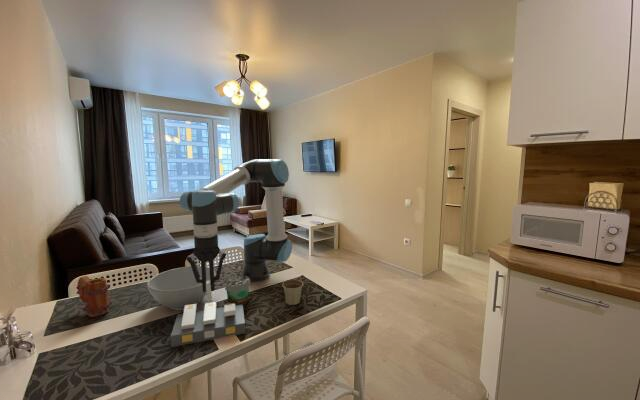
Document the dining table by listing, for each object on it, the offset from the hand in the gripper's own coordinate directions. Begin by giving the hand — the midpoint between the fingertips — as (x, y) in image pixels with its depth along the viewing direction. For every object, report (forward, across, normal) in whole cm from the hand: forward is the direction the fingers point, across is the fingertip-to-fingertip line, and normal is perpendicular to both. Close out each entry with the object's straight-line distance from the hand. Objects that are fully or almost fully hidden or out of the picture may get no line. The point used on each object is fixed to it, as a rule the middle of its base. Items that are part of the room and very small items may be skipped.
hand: (209, 299), depth 95 cm
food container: (+14, +12, +20) cm, 27 cm away
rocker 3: (+7, +7, +4) cm, 11 cm away
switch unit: (+13, 0, +4) cm, 14 cm away
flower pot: (+14, +34, +14) cm, 39 cm away
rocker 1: (+7, -7, +4) cm, 11 cm away
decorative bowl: (+14, -12, +28) cm, 33 cm away
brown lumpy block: (+14, -46, +31) cm, 57 cm away
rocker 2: (+7, 0, +4) cm, 8 cm away
